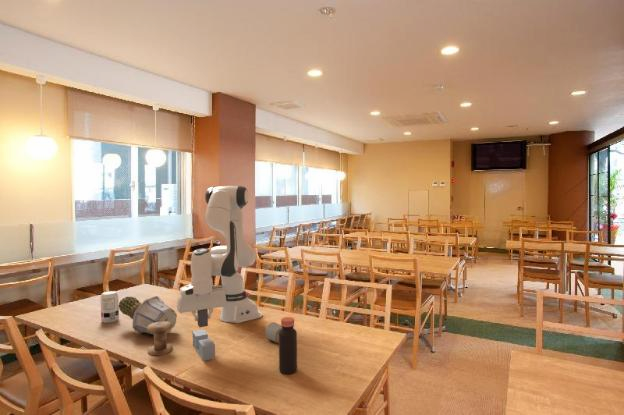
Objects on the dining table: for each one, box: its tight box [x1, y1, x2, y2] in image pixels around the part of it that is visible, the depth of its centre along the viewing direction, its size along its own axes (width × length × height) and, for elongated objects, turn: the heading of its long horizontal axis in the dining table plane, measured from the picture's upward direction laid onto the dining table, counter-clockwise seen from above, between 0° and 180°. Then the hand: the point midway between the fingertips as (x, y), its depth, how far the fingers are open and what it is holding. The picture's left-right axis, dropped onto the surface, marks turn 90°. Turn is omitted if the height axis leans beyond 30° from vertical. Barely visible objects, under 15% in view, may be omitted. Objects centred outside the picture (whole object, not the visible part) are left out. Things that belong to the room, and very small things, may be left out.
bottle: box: [278, 316, 298, 375], centre depth 145 cm, size 7×7×20 cm
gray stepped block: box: [192, 328, 216, 362], centre depth 163 cm, size 5×19×6 cm, turn 29°
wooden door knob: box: [147, 321, 174, 356], centre depth 164 cm, size 10×10×11 cm
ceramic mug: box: [264, 321, 282, 344], centre depth 175 cm, size 11×8×8 cm
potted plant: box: [118, 295, 178, 336], centre depth 186 cm, size 18×18×30 cm
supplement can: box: [100, 290, 120, 324], centre depth 201 cm, size 8×8×15 cm
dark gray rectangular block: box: [196, 309, 209, 328], centre depth 162 cm, size 4×4×7 cm
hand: (202, 319), depth 163 cm, fingers closed on dark gray rectangular block, 3 cm apart
